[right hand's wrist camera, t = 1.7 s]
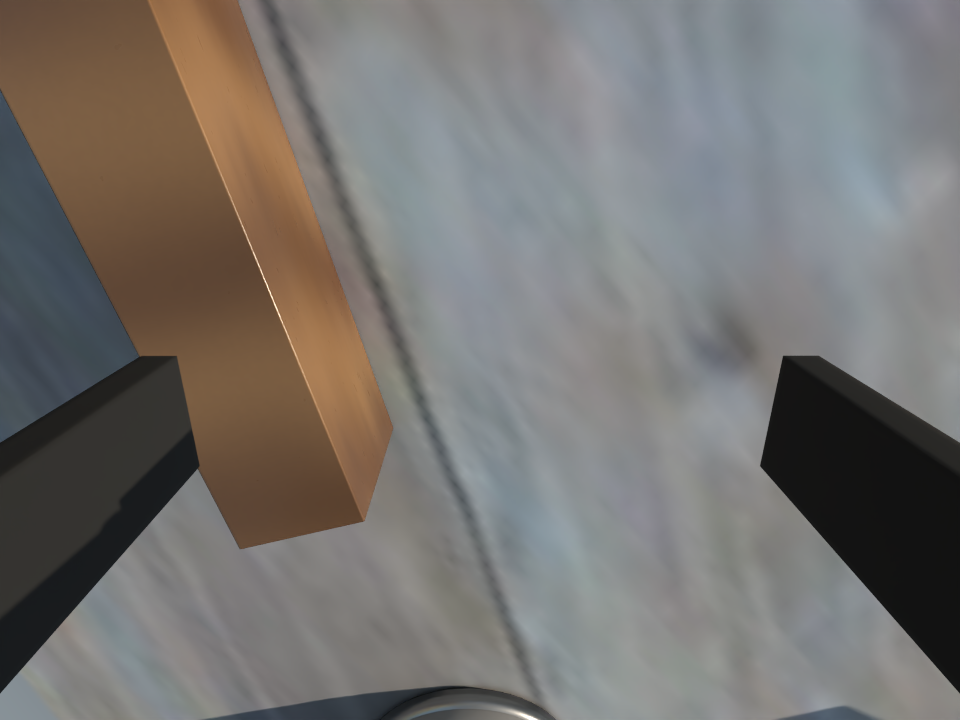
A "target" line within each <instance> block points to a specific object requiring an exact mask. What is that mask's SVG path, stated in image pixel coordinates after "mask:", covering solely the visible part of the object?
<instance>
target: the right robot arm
mask: <svg viewBox="0 0 960 720" xmlns="http://www.w3.org/2000/svg"><path fill="white" fill-rule="evenodd" d="M199 466H200V464H199V460H198V455H197V450H196V445H195V440H194V436H193V431H192V426H191V421H190V417H189V412H188V407H187V402H186V397H185V393H184V388H183V383H182V378H181V373H180V369H179V364H178V359H177V356H140V357H139V358H137V359H135V360H134V361H132V362H131V363H129V364H127V365H126V366H124V367H123V368H121V369H119V370H118V371H116V372H114V373H113V374H111V375H110V376H108V377H106V378H105V379H103V380H101V381H100V382H98V383H97V384H95V385H93V386H92V387H90V388H88V389H87V390H85V391H84V392H82V393H80V394H79V395H77V396H75V397H74V398H72V399H71V400H69V401H67V402H66V403H64V404H62V405H61V406H59V407H58V408H56V409H54V410H53V411H51V412H49V413H48V414H46V415H45V416H43V417H41V418H40V419H38V420H37V421H35V422H33V423H32V424H30V425H28V426H27V427H25V428H24V429H22V430H20V431H19V432H17V433H15V434H14V435H12V436H11V437H9V438H7V439H6V440H4V441H2V442H1V443H0V693H1V692H2V691H3V690H4V688H5V687H6V686H7V685H8V684H9V683H10V682H11V680H12V679H13V678H14V677H15V676H16V675H17V674H18V672H19V671H20V670H21V669H22V668H23V667H24V666H25V664H26V663H27V662H28V661H29V660H30V659H31V658H32V657H33V655H34V654H35V653H36V652H37V651H38V650H39V649H40V647H41V646H42V645H43V644H44V643H45V642H46V641H47V639H48V638H49V637H50V636H51V635H52V634H53V633H54V631H55V630H56V629H57V628H58V627H59V626H60V625H61V624H62V622H63V621H64V620H65V619H66V618H67V617H68V616H69V614H70V613H71V612H72V611H73V610H74V609H75V608H76V606H77V605H78V604H79V603H80V602H81V601H82V600H83V598H84V597H85V596H86V595H87V594H88V593H89V592H90V590H91V589H92V588H93V587H94V586H95V585H96V584H97V583H98V581H99V580H100V579H101V578H102V577H103V576H104V575H105V573H106V572H107V571H108V570H109V569H110V568H111V567H112V565H113V564H114V563H115V562H116V561H117V560H118V559H119V557H120V556H121V555H122V554H123V553H124V552H125V551H126V550H127V548H128V547H129V546H130V545H131V544H132V543H133V542H134V540H135V539H136V538H137V537H138V536H139V535H140V534H141V532H142V531H143V530H144V529H145V528H146V527H147V526H148V524H149V523H150V522H151V521H152V520H153V519H154V518H155V517H156V515H157V514H158V513H159V512H160V511H161V510H162V509H163V507H164V506H165V505H166V504H167V503H168V502H169V501H170V499H171V498H172V497H173V496H174V495H175V494H176V493H177V491H178V490H179V489H180V488H181V487H182V486H183V485H184V484H185V482H186V481H187V480H188V479H189V478H190V477H191V476H192V474H193V473H194V472H195V471H196V470H197V469H198V468H199ZM760 466H761V468H762V469H763V470H764V471H765V472H766V473H767V474H768V476H769V477H770V478H771V479H772V480H773V481H774V482H775V484H776V485H777V486H778V487H779V488H780V489H781V490H782V491H783V493H784V494H785V495H786V496H787V497H788V498H789V499H790V501H791V502H792V503H793V504H794V505H795V506H796V507H797V509H798V510H799V511H800V512H801V513H802V514H803V515H804V517H805V518H806V519H807V520H808V521H809V522H810V523H811V524H812V526H813V527H814V528H815V529H816V530H817V531H818V532H819V534H820V535H821V536H822V537H823V538H824V539H825V540H826V542H827V543H828V544H829V545H830V546H831V547H832V548H833V550H834V551H835V552H836V553H837V554H838V555H839V556H840V557H841V559H842V560H843V561H844V562H845V563H846V564H847V565H848V567H849V568H850V569H851V570H852V571H853V572H854V573H855V575H856V576H857V577H858V578H859V579H860V580H861V581H862V583H863V584H864V585H865V586H866V587H867V588H868V589H869V591H870V592H871V593H872V594H873V595H874V596H875V597H876V598H877V600H878V601H879V602H880V603H881V604H882V605H883V606H884V608H885V609H886V610H887V611H888V612H889V613H890V614H891V616H892V617H893V618H894V619H895V620H896V621H897V622H898V624H899V625H900V626H901V627H902V628H903V629H904V630H905V631H906V633H907V634H908V635H909V636H910V637H911V638H912V639H913V641H914V642H915V643H916V644H917V645H918V646H919V647H920V649H921V650H922V651H923V652H924V653H925V654H926V655H927V657H928V658H929V659H930V660H931V661H932V662H933V663H934V664H935V666H936V667H937V668H938V669H939V670H940V671H941V672H942V674H943V675H944V676H945V677H946V678H947V679H948V680H949V682H950V683H951V684H952V685H953V686H954V687H955V688H956V690H957V691H958V692H959V693H960V443H959V442H958V441H956V440H954V439H953V438H951V437H949V436H948V435H946V434H945V433H943V432H941V431H940V430H938V429H936V428H935V427H933V426H932V425H930V424H928V423H927V422H925V421H923V420H922V419H920V418H919V417H917V416H915V415H914V414H912V413H911V412H909V411H907V410H906V409H904V408H902V407H901V406H899V405H898V404H896V403H894V402H893V401H891V400H889V399H888V398H886V397H885V396H883V395H881V394H880V393H878V392H876V391H875V390H873V389H872V388H870V387H868V386H867V385H865V384H863V383H862V382H860V381H859V380H857V379H855V378H854V377H852V376H850V375H849V374H847V373H846V372H844V371H842V370H841V369H839V368H837V367H836V366H834V365H833V364H831V363H829V362H828V361H826V360H825V359H823V358H821V357H820V356H783V359H782V364H781V369H780V373H779V378H778V383H777V388H776V393H775V397H774V402H773V407H772V412H771V417H770V421H769V426H768V431H767V436H766V440H765V445H764V450H763V455H762V460H761V464H760ZM381 720H556V719H555V718H554V717H552V716H551V715H550V714H549V713H547V712H546V711H545V710H543V709H542V708H540V707H539V706H537V705H535V704H533V703H531V702H529V701H527V700H524V699H522V698H520V697H517V696H514V695H511V694H507V693H503V692H498V691H493V690H486V689H471V688H464V689H450V690H443V691H437V692H433V693H429V694H425V695H422V696H419V697H416V698H413V699H411V700H409V701H407V702H405V703H403V704H401V705H399V706H397V707H396V708H394V709H393V710H391V711H390V712H389V713H387V714H386V715H385V716H384V717H383V718H382V719H381Z"/></svg>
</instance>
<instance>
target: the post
mask: <svg viewBox="0 0 960 720" xmlns="http://www.w3.org/2000/svg"><path fill="white" fill-rule="evenodd" d="M0 91H1V93H2V94H3V96H4V98H5V100H6V102H7V104H8V106H9V108H10V110H11V112H12V114H13V116H14V117H15V119H16V121H17V123H18V125H19V127H20V129H21V131H22V133H23V135H24V137H25V139H26V140H27V142H28V144H29V146H30V148H31V150H32V152H33V154H34V156H35V158H36V160H37V162H38V163H39V165H40V167H41V169H42V171H43V173H44V175H45V177H46V179H47V181H48V183H49V185H50V186H51V188H52V190H53V192H54V194H55V196H56V198H57V200H58V202H59V204H60V206H61V207H62V209H63V211H64V213H65V215H66V217H67V219H68V221H69V223H70V225H71V227H72V229H73V230H74V232H75V234H76V236H77V238H78V240H79V242H80V244H81V246H82V248H83V250H84V252H85V253H86V255H87V257H88V259H89V261H90V263H91V265H92V267H93V269H94V271H95V273H96V275H97V276H98V278H99V280H100V282H101V284H102V286H103V288H104V290H105V292H106V294H107V296H108V298H109V299H110V301H111V303H112V305H113V307H114V309H115V311H116V313H117V315H118V317H119V319H120V320H121V322H122V324H123V326H124V328H125V330H126V332H127V334H128V336H129V338H130V340H131V342H132V343H133V345H134V347H135V349H136V351H137V353H138V355H139V357H140V356H177V359H178V364H179V369H180V373H181V378H182V383H183V388H184V393H185V397H186V402H187V407H188V412H189V417H190V421H191V426H192V431H193V436H194V440H195V445H196V450H197V455H198V460H199V464H200V466H199V468H198V470H199V472H200V474H201V476H202V478H203V479H204V481H205V483H206V485H207V487H208V489H209V491H210V493H211V495H212V497H213V499H214V501H215V502H216V504H217V506H218V508H219V510H220V512H221V514H222V516H223V518H224V520H225V522H226V524H227V525H228V527H229V529H230V531H231V533H232V535H233V537H234V539H235V541H236V543H237V545H238V547H239V548H240V549H244V548H248V547H253V546H257V545H261V544H266V543H270V542H275V541H279V540H284V539H288V538H292V537H297V536H301V535H306V534H310V533H315V532H319V531H323V530H328V529H332V528H337V527H341V526H346V525H350V524H354V523H359V522H363V521H365V518H366V515H367V511H368V508H369V505H370V502H371V498H372V495H373V492H374V489H375V485H376V482H377V479H378V476H379V473H380V469H381V466H382V463H383V460H384V456H385V453H386V450H387V447H388V443H389V440H390V437H391V434H392V431H393V426H392V424H391V421H390V418H389V415H388V413H387V410H386V407H385V404H384V402H383V399H382V396H381V393H380V391H379V388H378V385H377V382H376V380H375V377H374V374H373V371H372V369H371V366H370V363H369V360H368V358H367V355H366V352H365V349H364V347H363V344H362V341H361V338H360V336H359V333H358V330H357V327H356V325H355V322H354V319H353V316H352V314H351V311H350V308H349V305H348V303H347V300H346V297H345V295H344V292H343V289H342V286H341V284H340V281H339V278H338V275H337V273H336V270H335V267H334V264H333V262H332V259H331V256H330V253H329V251H328V248H327V245H326V242H325V240H324V237H323V234H322V231H321V229H320V226H319V223H318V220H317V218H316V215H315V212H314V209H313V207H312V204H311V201H310V198H309V196H308V193H307V190H306V187H305V185H304V182H303V179H302V176H301V174H300V171H299V168H298V165H297V163H296V160H295V157H294V155H293V152H292V149H291V146H290V144H289V141H288V138H287V135H286V133H285V130H284V127H283V124H282V122H281V119H280V116H279V113H278V111H277V108H276V105H275V102H274V100H273V97H272V94H271V91H270V89H269V86H268V83H267V80H266V78H265V75H264V72H263V69H262V67H261V64H260V61H259V58H258V56H257V53H256V50H255V47H254V45H253V42H252V39H251V36H250V34H249V31H248V28H247V25H246V23H245V20H244V17H243V15H242V12H241V9H240V6H239V4H238V1H237V0H0Z"/></svg>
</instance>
